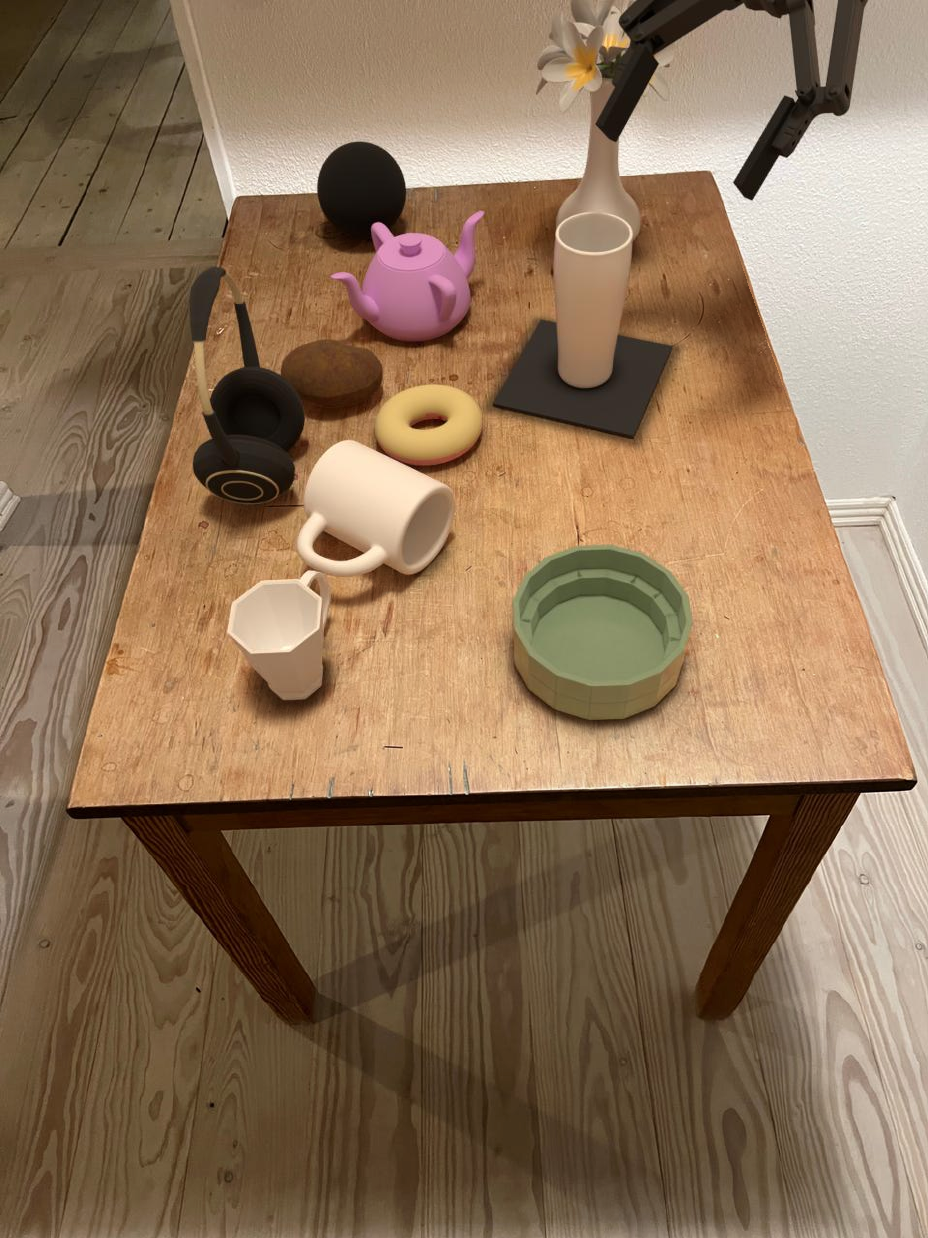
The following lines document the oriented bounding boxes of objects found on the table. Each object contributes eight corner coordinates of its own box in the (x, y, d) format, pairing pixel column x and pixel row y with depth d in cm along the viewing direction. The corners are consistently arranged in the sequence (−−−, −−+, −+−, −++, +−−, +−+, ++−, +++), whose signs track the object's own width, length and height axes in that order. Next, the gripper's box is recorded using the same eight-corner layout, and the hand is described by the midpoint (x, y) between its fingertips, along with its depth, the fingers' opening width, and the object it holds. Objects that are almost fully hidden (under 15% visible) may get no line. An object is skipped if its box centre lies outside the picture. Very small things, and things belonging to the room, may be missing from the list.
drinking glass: (541, 388, 92) (544, 247, 80) (561, 346, 95) (567, 205, 83) (609, 401, 90) (623, 259, 78) (626, 358, 94) (642, 216, 82)
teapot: (487, 284, 103) (484, 208, 96) (453, 364, 95) (447, 286, 88) (384, 272, 105) (374, 196, 98) (342, 348, 97) (328, 272, 90)
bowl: (700, 610, 75) (710, 570, 71) (656, 745, 68) (665, 708, 64) (545, 568, 78) (546, 527, 75) (489, 691, 71) (487, 654, 67)
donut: (488, 473, 89) (464, 399, 93) (497, 440, 85) (471, 365, 89) (384, 484, 86) (364, 408, 90) (388, 451, 82) (367, 373, 87)
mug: (370, 488, 85) (357, 420, 79) (459, 533, 81) (454, 466, 75) (280, 573, 80) (259, 508, 73) (371, 626, 76) (358, 562, 69)
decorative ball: (321, 215, 113) (306, 131, 105) (403, 203, 114) (394, 119, 106) (329, 261, 107) (314, 175, 99) (415, 248, 108) (407, 162, 100)
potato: (385, 417, 91) (378, 364, 86) (284, 425, 91) (270, 372, 86) (384, 373, 95) (377, 320, 90) (287, 381, 95) (274, 328, 90)
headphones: (200, 535, 83) (123, 345, 67) (229, 422, 91) (167, 230, 76) (297, 534, 82) (243, 342, 66) (316, 420, 91) (273, 226, 75)
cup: (234, 700, 72) (206, 639, 66) (295, 603, 78) (274, 537, 71) (316, 727, 70) (295, 667, 64) (372, 626, 76) (358, 560, 69)
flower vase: (654, 205, 111) (683, -41, 91) (648, 298, 100) (680, 41, 80) (544, 201, 113) (549, -42, 93) (526, 292, 102) (527, 39, 82)
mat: (672, 349, 95) (672, 345, 95) (633, 438, 87) (633, 435, 87) (540, 322, 99) (540, 319, 98) (492, 406, 91) (492, 403, 91)
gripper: (1004, -55, 64) (819, 238, 71) (711, -124, 76) (575, 132, 82) (994, -131, 58) (793, 198, 64) (677, -194, 70) (533, 89, 76)
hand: (670, 161), depth 73 cm, fingers open, 13 cm apart
